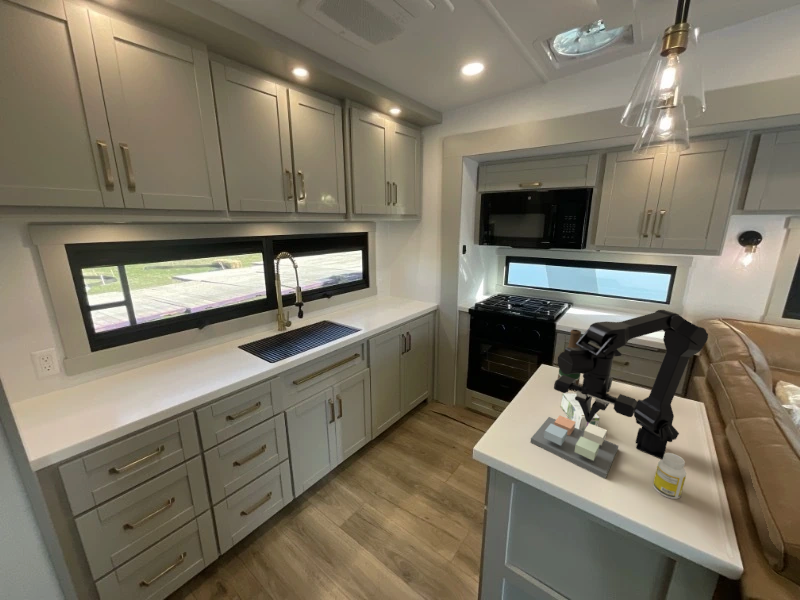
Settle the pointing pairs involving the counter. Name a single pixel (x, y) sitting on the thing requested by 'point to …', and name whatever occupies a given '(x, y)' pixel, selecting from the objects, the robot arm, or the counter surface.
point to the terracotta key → (565, 424)
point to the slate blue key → (555, 434)
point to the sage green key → (587, 448)
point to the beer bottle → (572, 344)
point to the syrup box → (576, 411)
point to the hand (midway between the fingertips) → (588, 421)
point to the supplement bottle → (670, 476)
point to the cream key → (595, 433)
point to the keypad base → (567, 452)
